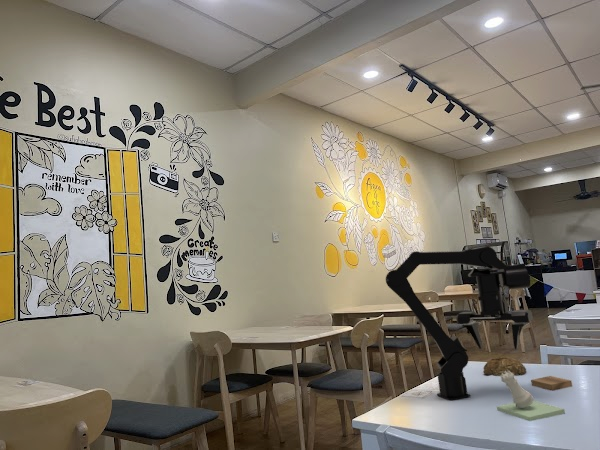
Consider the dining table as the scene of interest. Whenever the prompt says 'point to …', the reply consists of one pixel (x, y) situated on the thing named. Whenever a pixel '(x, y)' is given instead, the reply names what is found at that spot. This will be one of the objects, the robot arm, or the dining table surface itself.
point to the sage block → (531, 410)
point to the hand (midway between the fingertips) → (498, 348)
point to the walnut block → (551, 383)
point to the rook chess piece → (517, 390)
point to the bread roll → (504, 366)
